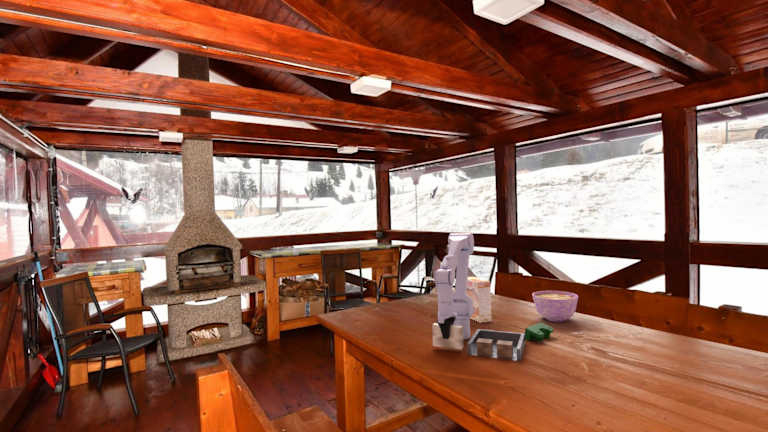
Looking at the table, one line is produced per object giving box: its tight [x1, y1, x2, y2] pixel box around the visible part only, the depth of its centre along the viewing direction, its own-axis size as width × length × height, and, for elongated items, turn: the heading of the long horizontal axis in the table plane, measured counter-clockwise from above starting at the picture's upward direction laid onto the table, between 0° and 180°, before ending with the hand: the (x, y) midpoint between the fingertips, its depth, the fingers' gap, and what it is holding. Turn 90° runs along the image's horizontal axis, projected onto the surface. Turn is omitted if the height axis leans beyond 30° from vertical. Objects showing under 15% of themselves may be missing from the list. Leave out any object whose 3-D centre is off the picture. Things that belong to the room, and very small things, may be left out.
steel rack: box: [467, 328, 526, 362], centre depth 139 cm, size 18×18×5 cm
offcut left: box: [477, 338, 493, 356], centre depth 135 cm, size 5×4×4 cm
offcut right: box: [497, 340, 513, 358], centre depth 132 cm, size 5×4×4 cm
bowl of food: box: [531, 290, 579, 323], centre depth 177 cm, size 20×20×12 cm
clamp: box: [524, 321, 554, 343], centre depth 149 cm, size 12×6×9 cm, turn 121°
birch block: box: [431, 322, 464, 351], centre depth 140 cm, size 11×2×8 cm, turn 64°
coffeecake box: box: [462, 276, 492, 324], centre depth 184 cm, size 15×7×20 cm, turn 17°
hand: (447, 337), depth 140 cm, fingers closed on birch block, 2 cm apart
